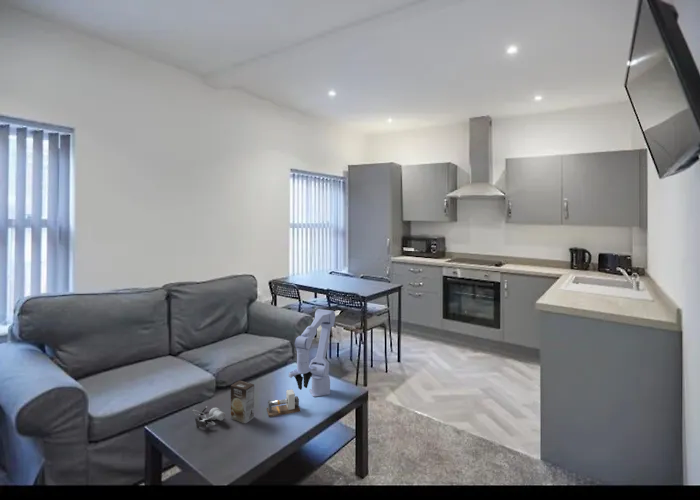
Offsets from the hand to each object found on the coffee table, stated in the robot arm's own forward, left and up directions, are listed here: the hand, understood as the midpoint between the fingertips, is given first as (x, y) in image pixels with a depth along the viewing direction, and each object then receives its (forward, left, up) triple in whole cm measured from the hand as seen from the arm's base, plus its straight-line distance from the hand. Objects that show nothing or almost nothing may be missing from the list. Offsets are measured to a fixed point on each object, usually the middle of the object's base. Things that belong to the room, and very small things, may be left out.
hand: (302, 388), depth 183 cm
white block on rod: (+6, 0, -8) cm, 10 cm away
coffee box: (+28, 0, -10) cm, 30 cm away
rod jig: (+9, 0, -10) cm, 14 cm away
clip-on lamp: (+44, -2, -10) cm, 45 cm away
